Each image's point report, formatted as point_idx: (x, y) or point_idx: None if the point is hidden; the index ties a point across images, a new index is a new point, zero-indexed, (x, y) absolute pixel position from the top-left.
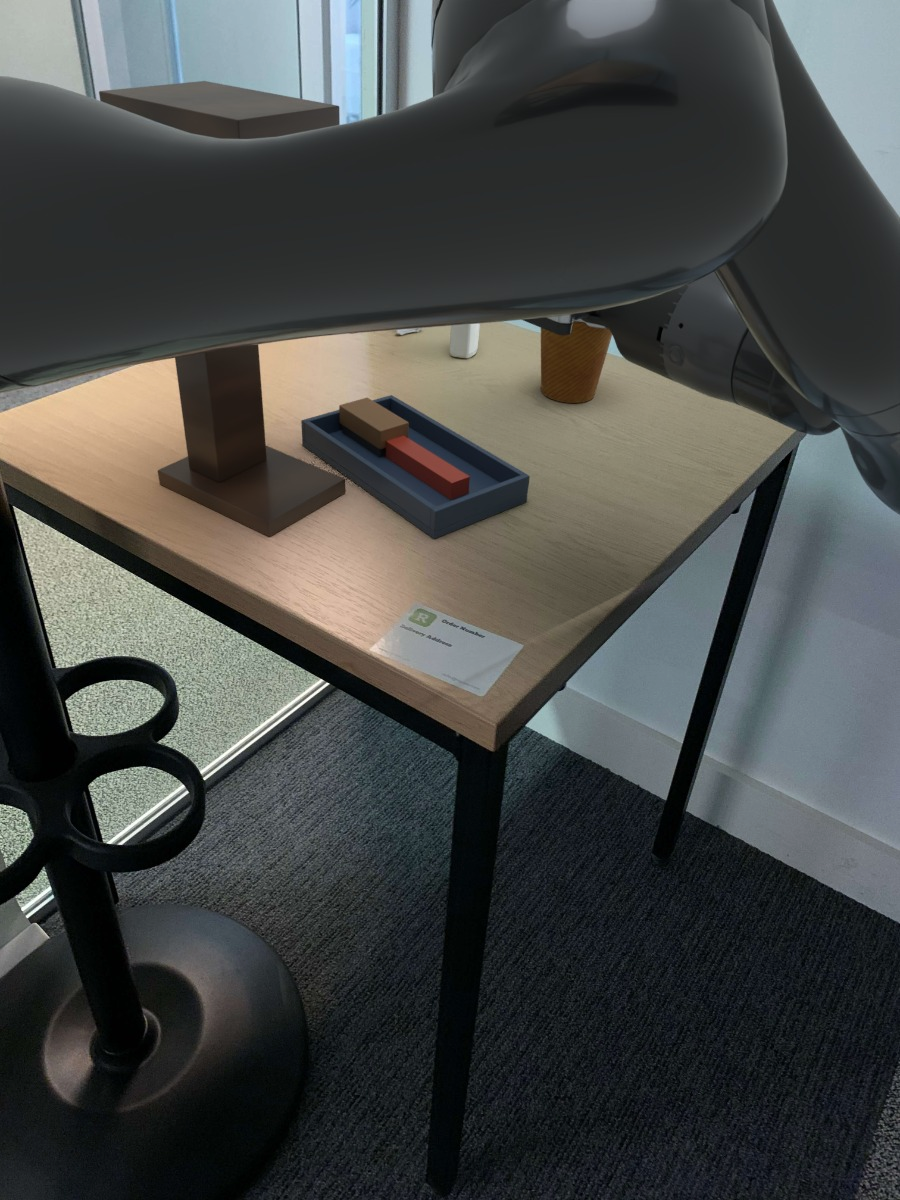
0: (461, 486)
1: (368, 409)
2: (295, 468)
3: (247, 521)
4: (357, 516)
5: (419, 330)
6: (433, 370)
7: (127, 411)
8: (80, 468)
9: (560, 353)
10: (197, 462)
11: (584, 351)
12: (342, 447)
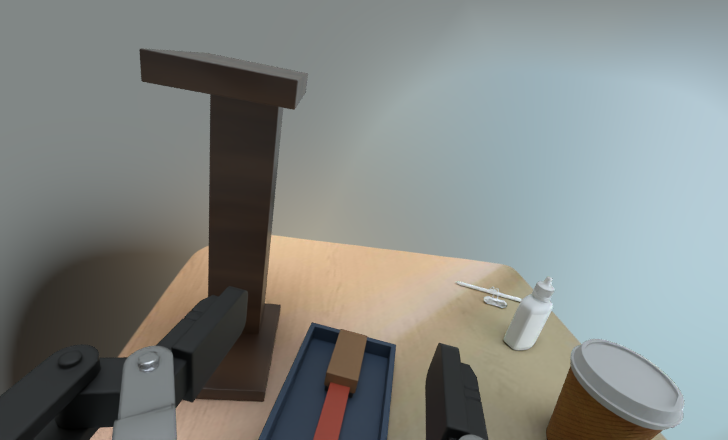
0: None
1: (351, 346)
2: (257, 354)
3: None
4: (231, 433)
5: (503, 307)
6: (475, 342)
7: (278, 258)
8: (203, 273)
9: (570, 415)
10: None
11: (598, 434)
12: (293, 363)
